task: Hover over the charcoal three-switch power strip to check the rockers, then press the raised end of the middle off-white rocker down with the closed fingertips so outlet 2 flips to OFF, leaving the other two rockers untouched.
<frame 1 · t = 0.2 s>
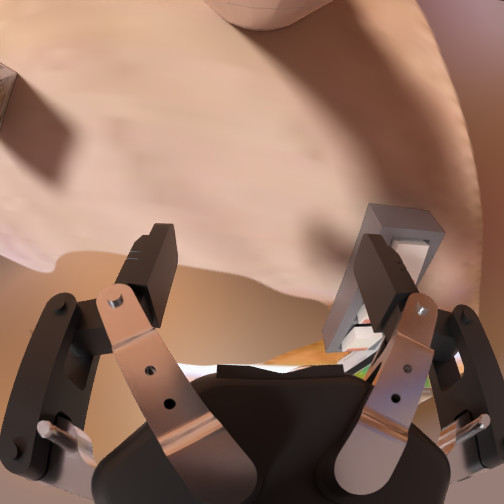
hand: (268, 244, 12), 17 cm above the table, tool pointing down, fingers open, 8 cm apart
strip housing: (370, 280, 38), on the table
rocker 3: (361, 339, 40), point 5 cm above the table, hinge at 12.0°
rocker 1: (403, 264, 29), point 5 cm above the table, hinge at -12.0°
rocker 2: (380, 308, 35), point 5 cm above the table, hinge at 12.0°
tea box: (374, 346, 52), on the table
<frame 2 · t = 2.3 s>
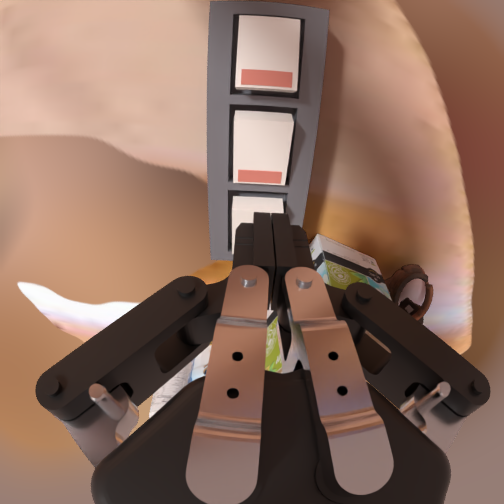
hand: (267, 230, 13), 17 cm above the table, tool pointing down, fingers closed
strip housing: (260, 132, 26), on the table
rocker 3: (255, 227, 27), point 5 cm above the table, hinge at 12.0°
rocker 1: (267, 53, 17), point 5 cm above the table, hinge at -12.0°
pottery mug: (395, 285, 40), on the table
rocker 2: (261, 148, 22), point 5 cm above the table, hinge at 12.0°
tea box: (315, 282, 39), on the table
supplement tub: (184, 359, 53), on the table
beverage bottle: (222, 324, 45), on the table
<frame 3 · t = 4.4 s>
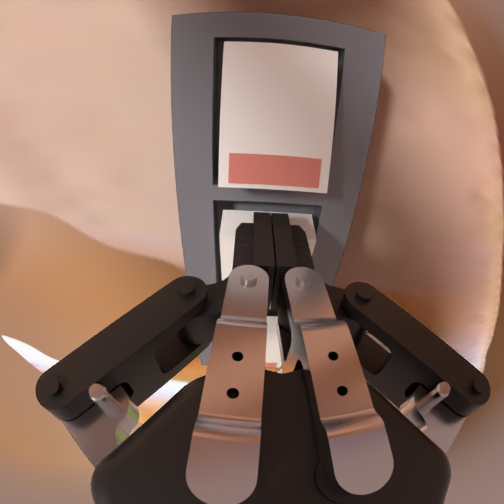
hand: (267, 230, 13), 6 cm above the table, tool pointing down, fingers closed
strip housing: (261, 216, 19), on the table
rocker 3: (255, 344, 20), point 5 cm above the table, hinge at 12.0°
rocker 1: (276, 115, 11), point 5 cm above the table, hinge at -12.0°
rocker 2: (263, 265, 16), point 5 cm above the table, hinge at 9.3°, touching gripper
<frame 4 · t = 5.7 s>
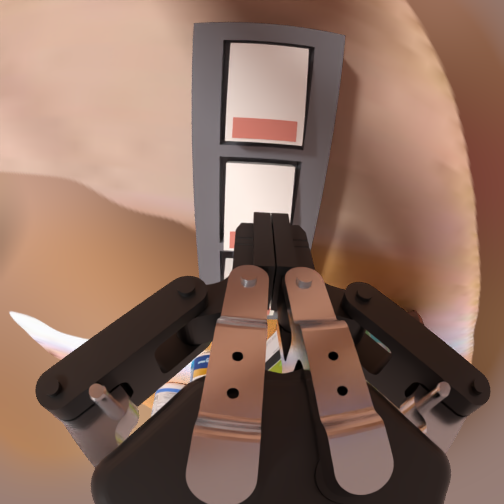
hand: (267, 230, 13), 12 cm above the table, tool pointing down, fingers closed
strip housing: (256, 179, 24), on the table
rocker 3: (251, 289, 24), point 5 cm above the table, hinge at 12.0°
rocker 1: (266, 93, 15), point 5 cm above the table, hinge at -12.0°
rocker 2: (257, 206, 20), point 5 cm above the table, hinge at -15.2°
tea box: (314, 327, 36), on the table
supplement tub: (180, 390, 50), on the table
beverage bottle: (218, 362, 42), on the table
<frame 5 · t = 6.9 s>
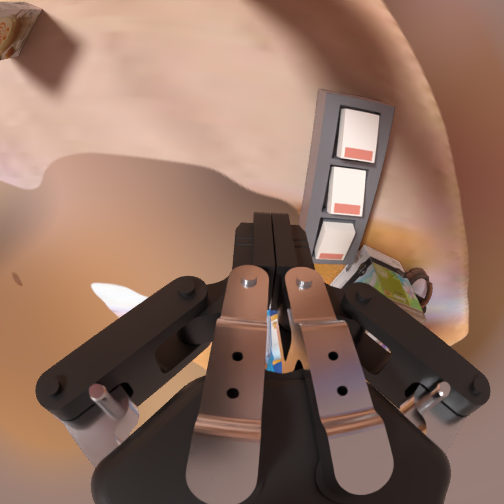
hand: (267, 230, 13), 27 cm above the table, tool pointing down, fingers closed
strip housing: (336, 177, 39), on the table
rocker 3: (334, 241, 40), point 5 cm above the table, hinge at 12.0°
rocker 1: (358, 135, 30), point 5 cm above the table, hinge at -12.0°
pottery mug: (405, 283, 53), on the table
rocker 2: (346, 191, 35), point 5 cm above the table, hinge at -22.6°, touching strip housing
tea box: (357, 278, 52), on the table
coffee box: (21, 28, 20), on the table
beverage bottle: (284, 312, 58), on the table
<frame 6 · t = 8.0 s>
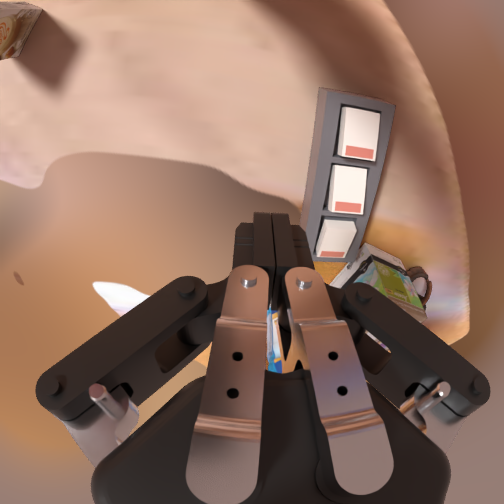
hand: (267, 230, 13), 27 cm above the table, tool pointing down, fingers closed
strip housing: (337, 175, 39), on the table
rocker 3: (335, 239, 40), point 5 cm above the table, hinge at 12.0°
rocker 1: (358, 133, 30), point 5 cm above the table, hinge at -12.0°
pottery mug: (404, 282, 53), on the table
rocker 2: (347, 189, 35), point 5 cm above the table, hinge at -21.5°
tea box: (358, 276, 52), on the table
coffee box: (21, 28, 21), on the table
beverage bottle: (285, 310, 58), on the table
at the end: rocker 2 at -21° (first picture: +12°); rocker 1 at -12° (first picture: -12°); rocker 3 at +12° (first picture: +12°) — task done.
